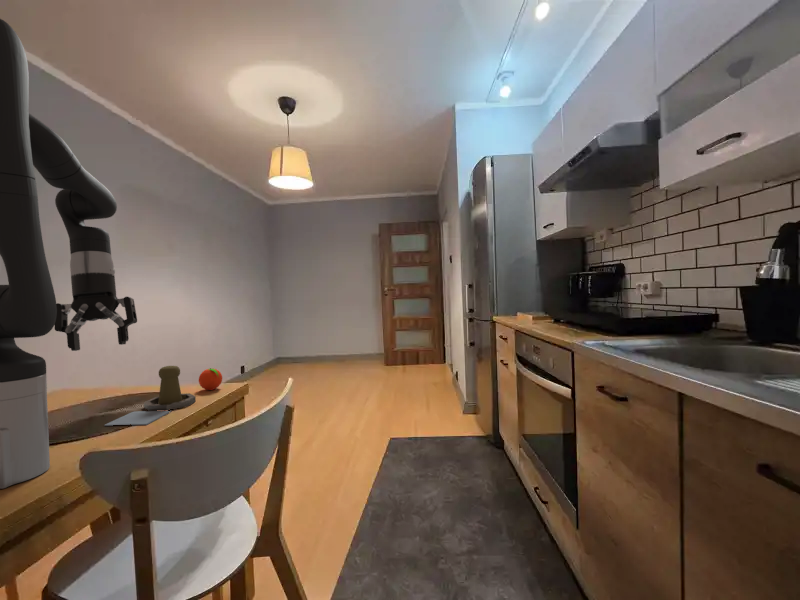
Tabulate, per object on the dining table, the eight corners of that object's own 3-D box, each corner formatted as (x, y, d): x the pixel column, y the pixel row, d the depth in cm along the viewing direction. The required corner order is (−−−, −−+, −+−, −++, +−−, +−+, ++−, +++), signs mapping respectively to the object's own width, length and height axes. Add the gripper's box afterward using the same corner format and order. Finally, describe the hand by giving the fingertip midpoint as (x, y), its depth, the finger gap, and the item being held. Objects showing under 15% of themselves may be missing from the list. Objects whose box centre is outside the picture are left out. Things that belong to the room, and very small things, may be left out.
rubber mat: (146, 425, 90) (146, 423, 90) (104, 426, 89) (104, 424, 89) (171, 411, 100) (171, 410, 100) (133, 412, 99) (133, 411, 99)
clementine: (229, 388, 123) (228, 367, 123) (208, 394, 117) (208, 371, 117) (214, 386, 127) (214, 365, 127) (194, 390, 121) (193, 368, 121)
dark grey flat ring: (179, 410, 100) (179, 404, 100) (135, 411, 100) (135, 405, 100) (201, 398, 112) (201, 393, 112) (162, 399, 112) (162, 394, 112)
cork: (187, 401, 109) (186, 364, 109) (172, 408, 103) (171, 368, 103) (168, 401, 109) (167, 364, 109) (152, 408, 103) (151, 368, 103)
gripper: (43, 274, 77) (49, 352, 76) (124, 268, 82) (131, 341, 80) (63, 281, 84) (69, 352, 83) (136, 274, 89) (143, 342, 88)
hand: (99, 347), depth 82 cm, fingers open, 8 cm apart
